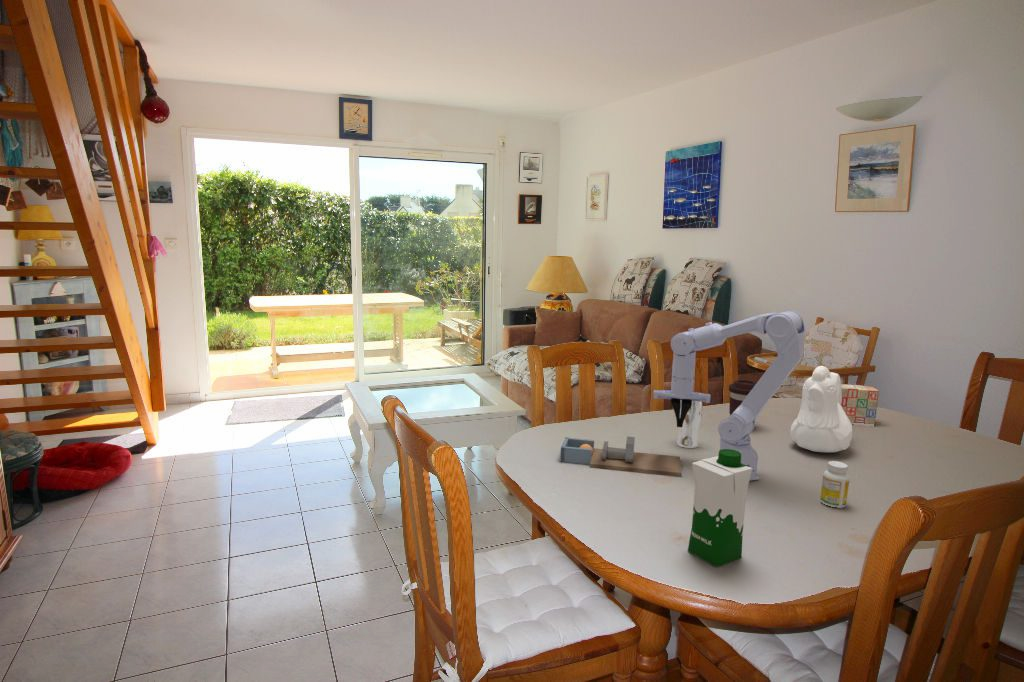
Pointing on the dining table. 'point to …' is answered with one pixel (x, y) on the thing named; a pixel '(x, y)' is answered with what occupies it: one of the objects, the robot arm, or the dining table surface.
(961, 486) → the dining table surface
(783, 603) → the dining table surface
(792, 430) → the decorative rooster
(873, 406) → the stack of blocks
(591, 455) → the ball
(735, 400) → the coffee cup
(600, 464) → the launcher board
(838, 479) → the supplement bottle
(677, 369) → the robot arm
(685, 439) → the silver soda can
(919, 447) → the dining table surface
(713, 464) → the milk carton
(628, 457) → the grey h-shaped block
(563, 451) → the cup
